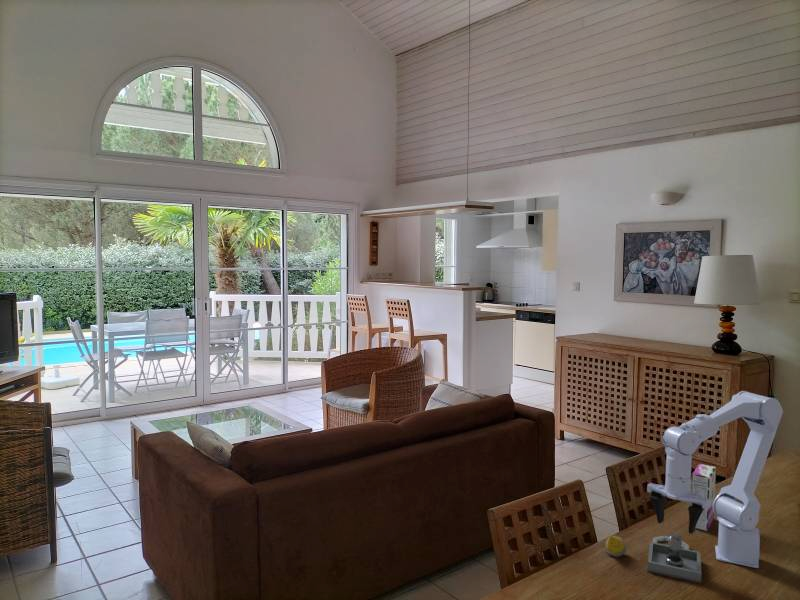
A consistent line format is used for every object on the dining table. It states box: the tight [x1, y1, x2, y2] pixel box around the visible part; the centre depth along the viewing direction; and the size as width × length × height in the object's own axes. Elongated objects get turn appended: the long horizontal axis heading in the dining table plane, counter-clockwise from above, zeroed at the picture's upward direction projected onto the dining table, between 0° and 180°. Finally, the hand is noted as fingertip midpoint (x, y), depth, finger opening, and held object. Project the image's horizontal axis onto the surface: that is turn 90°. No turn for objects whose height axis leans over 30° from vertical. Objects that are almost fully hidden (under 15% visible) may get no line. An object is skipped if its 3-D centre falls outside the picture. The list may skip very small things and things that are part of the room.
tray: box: [647, 541, 702, 585], centre depth 148 cm, size 12×12×2 cm
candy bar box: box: [690, 463, 717, 532], centre depth 172 cm, size 11×5×16 cm, turn 143°
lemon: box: [604, 534, 627, 558], centre depth 152 cm, size 5×5×10 cm
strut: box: [666, 533, 683, 568], centre depth 147 cm, size 4×4×7 cm
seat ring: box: [652, 535, 690, 550], centre depth 157 cm, size 9×9×1 cm
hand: (675, 527), depth 147 cm, fingers open, 7 cm apart
